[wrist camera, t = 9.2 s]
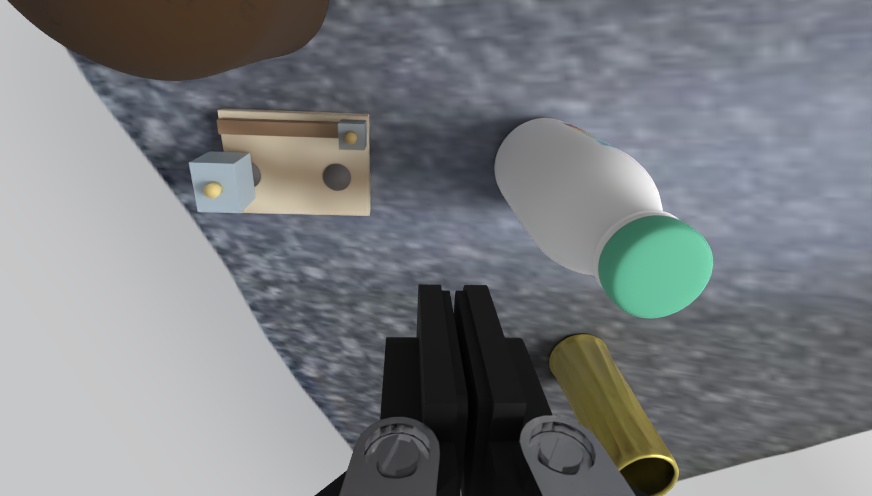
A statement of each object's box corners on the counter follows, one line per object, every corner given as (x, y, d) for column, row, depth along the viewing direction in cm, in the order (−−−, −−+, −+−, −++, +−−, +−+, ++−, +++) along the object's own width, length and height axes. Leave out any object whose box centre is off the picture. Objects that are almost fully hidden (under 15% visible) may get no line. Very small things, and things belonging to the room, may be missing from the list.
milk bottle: (497, 214, 39) (577, 362, 21) (488, 125, 36) (572, 208, 18) (584, 199, 39) (742, 335, 21) (583, 108, 36) (767, 175, 17)
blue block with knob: (209, 151, 34) (183, 165, 30) (250, 152, 34) (229, 166, 30) (216, 196, 35) (192, 215, 31) (255, 197, 35) (236, 216, 32)
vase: (599, 381, 47) (672, 507, 35) (543, 380, 47) (595, 508, 34) (613, 333, 45) (696, 450, 32) (554, 332, 44) (614, 450, 32)
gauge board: (223, 108, 34) (195, 118, 29) (369, 114, 35) (363, 124, 30) (237, 207, 37) (214, 230, 33) (370, 210, 38) (365, 233, 33)
